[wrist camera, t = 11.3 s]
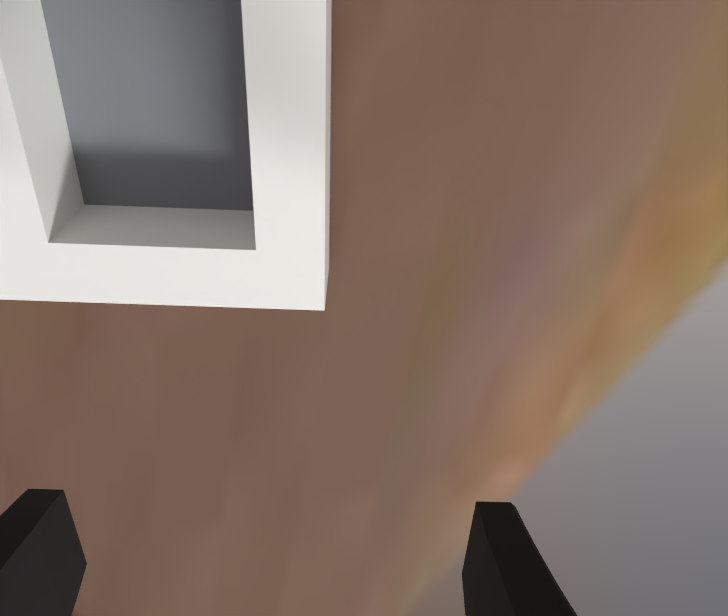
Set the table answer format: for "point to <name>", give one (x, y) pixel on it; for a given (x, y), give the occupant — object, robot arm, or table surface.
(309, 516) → the table surface
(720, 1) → the table surface
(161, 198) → the white frame
